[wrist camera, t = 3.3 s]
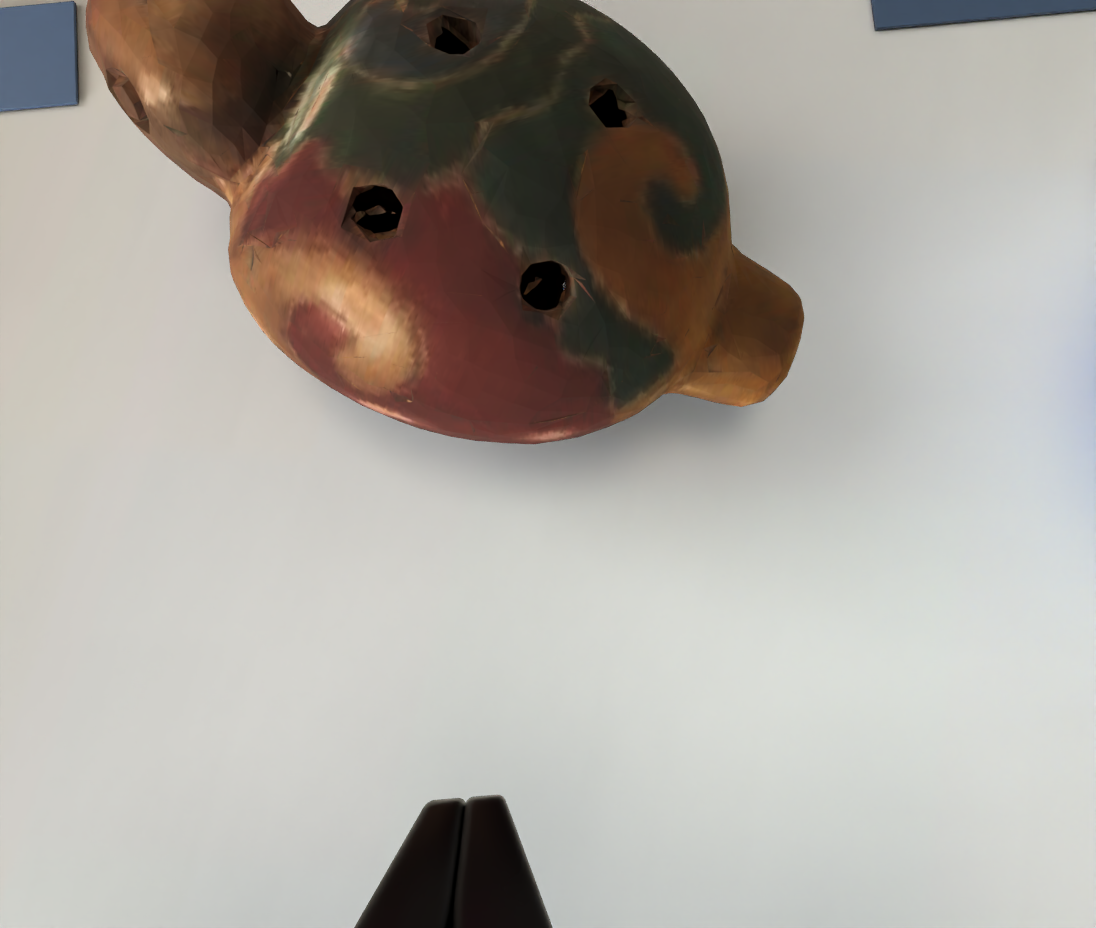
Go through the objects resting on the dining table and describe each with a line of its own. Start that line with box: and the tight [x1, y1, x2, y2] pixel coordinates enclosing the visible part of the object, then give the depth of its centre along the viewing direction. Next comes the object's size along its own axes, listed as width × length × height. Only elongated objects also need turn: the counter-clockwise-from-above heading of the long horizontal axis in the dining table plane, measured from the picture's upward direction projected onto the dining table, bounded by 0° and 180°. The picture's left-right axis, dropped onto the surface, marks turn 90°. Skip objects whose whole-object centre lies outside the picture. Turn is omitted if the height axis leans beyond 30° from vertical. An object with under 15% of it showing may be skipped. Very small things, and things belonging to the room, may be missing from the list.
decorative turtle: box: [86, 0, 804, 444], centre depth 17 cm, size 10×15×8 cm, turn 72°
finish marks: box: [0, 0, 1096, 111], centre depth 21 cm, size 3×38×1 cm, turn 95°
